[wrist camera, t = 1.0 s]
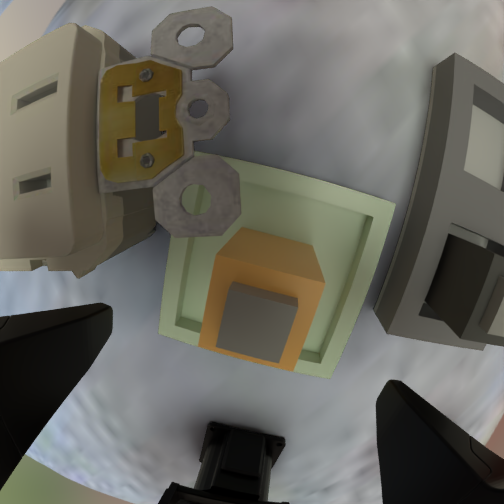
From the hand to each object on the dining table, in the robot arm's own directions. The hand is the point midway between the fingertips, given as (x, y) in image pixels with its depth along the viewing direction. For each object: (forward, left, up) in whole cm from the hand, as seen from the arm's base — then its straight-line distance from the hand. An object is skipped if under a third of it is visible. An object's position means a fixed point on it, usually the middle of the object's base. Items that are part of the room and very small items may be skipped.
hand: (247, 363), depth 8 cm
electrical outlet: (+3, +16, -10) cm, 19 cm away
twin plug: (+3, -11, -9) cm, 14 cm away
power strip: (+7, -11, -9) cm, 16 cm away
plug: (0, 0, -9) cm, 9 cm away
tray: (0, 0, -9) cm, 9 cm away
